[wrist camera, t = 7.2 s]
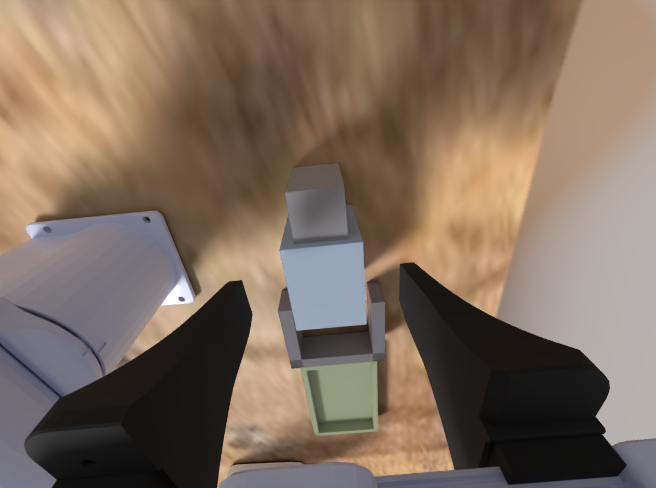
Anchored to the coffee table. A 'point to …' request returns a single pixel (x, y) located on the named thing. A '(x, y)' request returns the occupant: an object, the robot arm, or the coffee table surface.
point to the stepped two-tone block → (322, 251)
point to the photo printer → (259, 466)
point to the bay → (336, 337)
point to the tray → (342, 398)
